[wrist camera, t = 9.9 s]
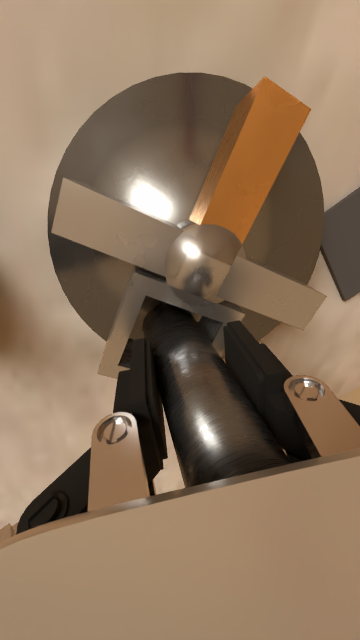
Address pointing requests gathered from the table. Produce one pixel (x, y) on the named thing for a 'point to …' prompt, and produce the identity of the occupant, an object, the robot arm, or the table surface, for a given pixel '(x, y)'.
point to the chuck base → (177, 189)
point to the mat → (343, 244)
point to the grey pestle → (205, 403)
